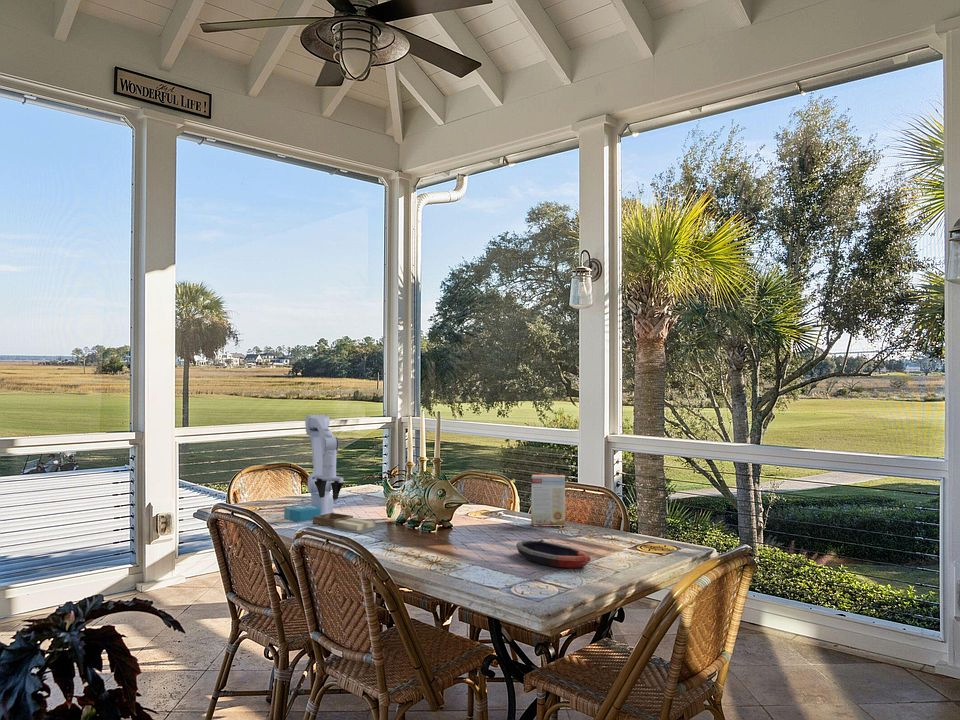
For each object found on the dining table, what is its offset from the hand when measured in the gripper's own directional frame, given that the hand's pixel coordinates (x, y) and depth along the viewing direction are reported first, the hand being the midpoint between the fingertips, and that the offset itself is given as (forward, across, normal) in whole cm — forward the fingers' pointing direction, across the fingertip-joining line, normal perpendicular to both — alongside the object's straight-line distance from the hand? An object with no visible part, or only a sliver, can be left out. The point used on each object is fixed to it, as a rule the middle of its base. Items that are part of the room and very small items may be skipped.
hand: (328, 498), depth 309 cm
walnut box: (+9, +6, -3) cm, 11 cm away
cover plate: (+9, +18, -3) cm, 20 cm away
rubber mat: (+9, +20, -3) cm, 22 cm away
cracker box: (+10, +79, +47) cm, 92 cm away
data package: (+7, -14, -9) cm, 18 cm away
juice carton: (+10, +31, +24) cm, 40 cm away
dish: (+10, +107, -5) cm, 108 cm away
